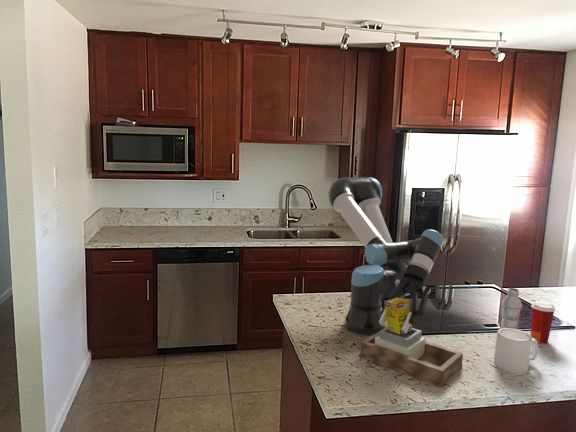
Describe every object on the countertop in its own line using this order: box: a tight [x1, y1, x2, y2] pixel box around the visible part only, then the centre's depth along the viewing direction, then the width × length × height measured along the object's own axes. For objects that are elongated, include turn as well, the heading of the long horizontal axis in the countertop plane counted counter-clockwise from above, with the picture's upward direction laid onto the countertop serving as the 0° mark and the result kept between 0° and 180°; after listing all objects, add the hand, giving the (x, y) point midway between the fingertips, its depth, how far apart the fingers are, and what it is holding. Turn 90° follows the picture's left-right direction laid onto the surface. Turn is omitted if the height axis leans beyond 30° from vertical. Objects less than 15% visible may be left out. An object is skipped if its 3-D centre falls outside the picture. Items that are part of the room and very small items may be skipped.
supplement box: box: [384, 297, 413, 336], centre depth 153 cm, size 6×6×11 cm
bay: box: [359, 331, 464, 388], centre depth 152 cm, size 28×17×5 cm, turn 49°
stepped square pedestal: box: [375, 326, 426, 359], centre depth 154 cm, size 12×12×8 cm
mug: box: [493, 328, 539, 374], centre depth 151 cm, size 14×10×11 cm
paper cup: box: [530, 300, 556, 345], centre depth 170 cm, size 8×8×14 cm
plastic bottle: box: [499, 287, 523, 330], centre depth 167 cm, size 6×7×20 cm
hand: (392, 327), depth 151 cm, fingers closed on supplement box, 8 cm apart
